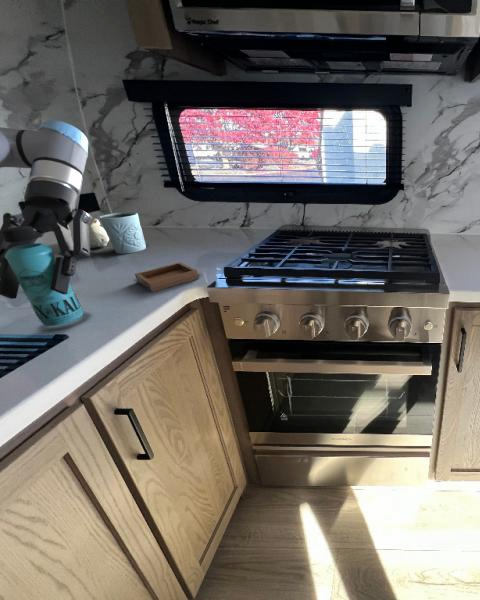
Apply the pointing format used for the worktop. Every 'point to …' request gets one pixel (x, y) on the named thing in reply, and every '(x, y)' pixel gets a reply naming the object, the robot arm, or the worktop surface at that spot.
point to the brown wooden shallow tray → (166, 276)
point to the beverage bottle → (40, 278)
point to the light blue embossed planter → (124, 232)
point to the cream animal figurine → (97, 235)
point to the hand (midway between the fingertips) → (33, 293)
